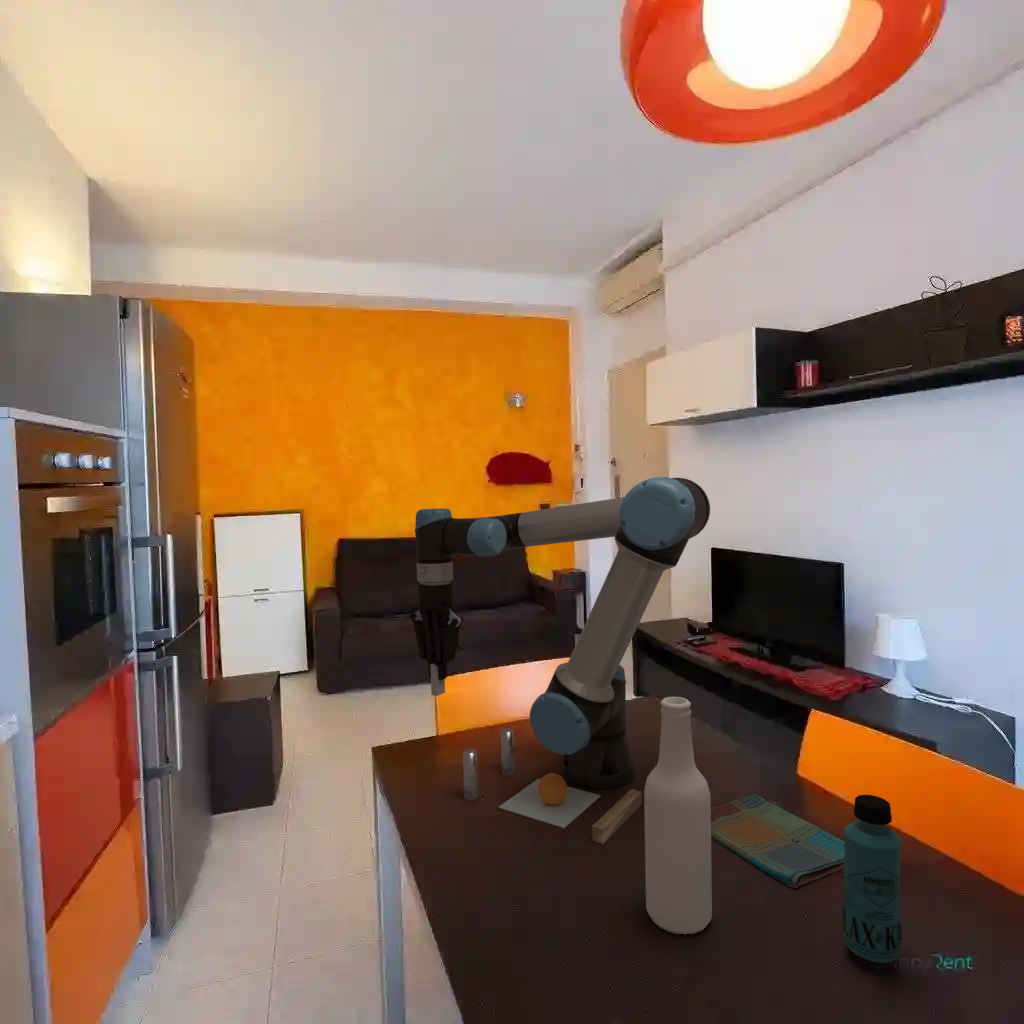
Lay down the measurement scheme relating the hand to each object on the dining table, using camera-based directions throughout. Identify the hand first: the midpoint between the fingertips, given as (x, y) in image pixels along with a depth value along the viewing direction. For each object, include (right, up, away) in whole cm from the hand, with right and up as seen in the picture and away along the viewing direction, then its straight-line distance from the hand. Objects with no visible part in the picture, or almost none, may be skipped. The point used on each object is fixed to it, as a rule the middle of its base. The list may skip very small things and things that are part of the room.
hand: (438, 693), depth 140 cm
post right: (+15, -16, -2) cm, 22 cm away
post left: (+8, -17, -12) cm, 22 cm away
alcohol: (+38, -18, -48) cm, 64 cm away
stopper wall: (+34, -17, -22) cm, 44 cm away
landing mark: (+23, -16, -15) cm, 32 cm away
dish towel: (+59, -17, -29) cm, 68 cm away
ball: (+23, -14, -15) cm, 31 cm away
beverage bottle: (+60, -17, -57) cm, 85 cm away
